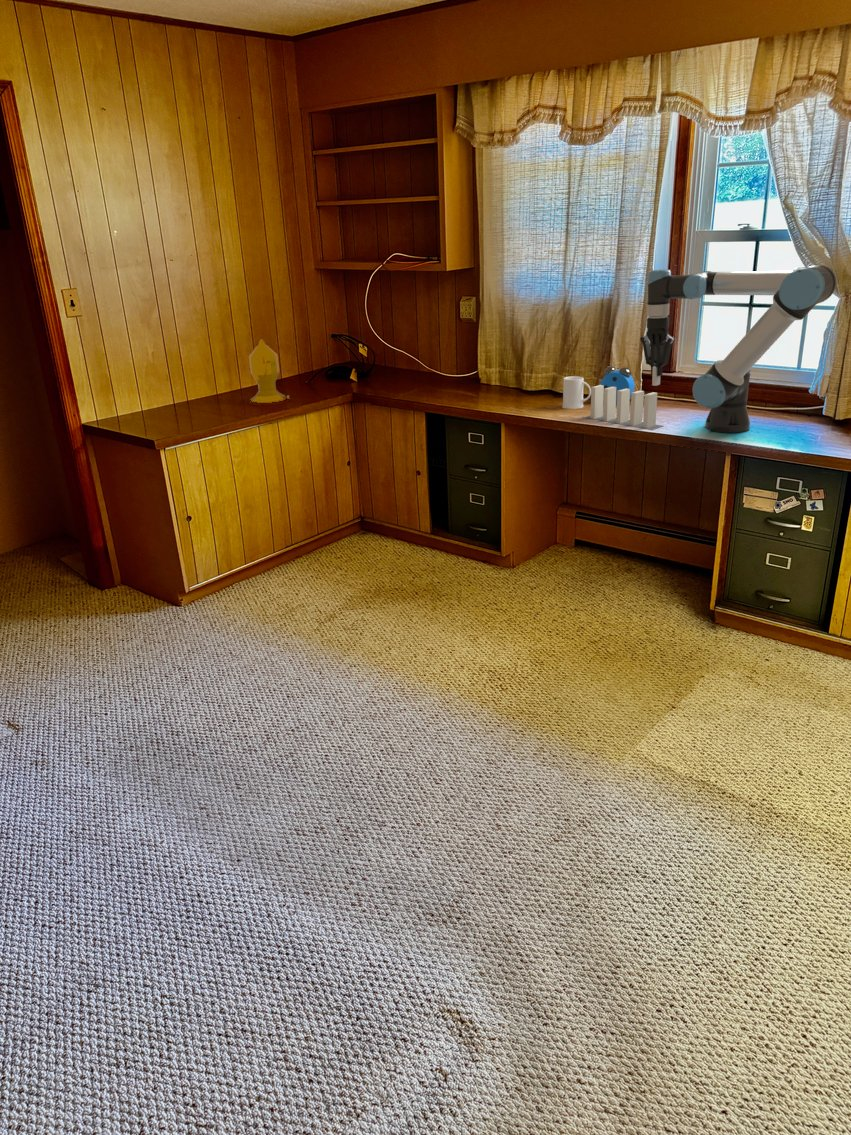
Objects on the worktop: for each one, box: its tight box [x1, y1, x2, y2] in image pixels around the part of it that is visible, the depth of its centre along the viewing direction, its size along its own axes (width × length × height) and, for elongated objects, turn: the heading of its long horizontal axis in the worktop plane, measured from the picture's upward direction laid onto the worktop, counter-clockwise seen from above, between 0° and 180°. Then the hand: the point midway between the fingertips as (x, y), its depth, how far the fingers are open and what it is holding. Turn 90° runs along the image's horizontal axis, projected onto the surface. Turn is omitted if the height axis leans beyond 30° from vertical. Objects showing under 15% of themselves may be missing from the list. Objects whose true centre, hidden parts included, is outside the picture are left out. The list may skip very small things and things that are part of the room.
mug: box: [562, 375, 591, 410], centre depth 341 cm, size 12×8×12 cm
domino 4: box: [629, 390, 645, 426], centre depth 309 cm, size 2×5×12 cm, turn 131°
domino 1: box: [590, 384, 604, 419], centre depth 322 cm, size 2×5×12 cm, turn 132°
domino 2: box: [603, 387, 617, 421], centre depth 318 cm, size 2×5×12 cm, turn 132°
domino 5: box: [642, 391, 658, 428], centre depth 305 cm, size 2×5×12 cm, turn 132°
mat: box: [582, 414, 665, 431], centre depth 316 cm, size 32×8×1 cm, turn 41°
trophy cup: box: [248, 338, 290, 403], centre depth 378 cm, size 18×24×28 cm
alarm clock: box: [599, 365, 636, 405], centre depth 344 cm, size 13×6×15 cm, turn 55°
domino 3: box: [615, 389, 631, 423], centre depth 314 cm, size 2×5×12 cm, turn 131°
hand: (656, 384), depth 300 cm, fingers closed
